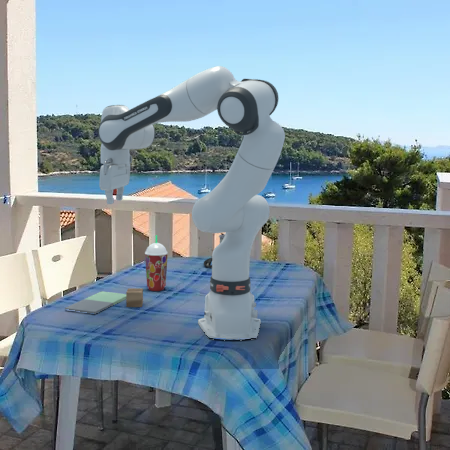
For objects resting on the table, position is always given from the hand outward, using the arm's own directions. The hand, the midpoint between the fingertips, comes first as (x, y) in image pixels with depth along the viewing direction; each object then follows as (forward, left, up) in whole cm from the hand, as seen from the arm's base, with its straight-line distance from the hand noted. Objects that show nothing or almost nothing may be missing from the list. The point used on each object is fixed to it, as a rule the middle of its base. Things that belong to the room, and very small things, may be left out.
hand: (114, 202), depth 182 cm
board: (+4, +6, -35) cm, 35 cm away
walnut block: (+3, -6, -35) cm, 35 cm away
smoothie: (+23, -12, -35) cm, 43 cm away
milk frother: (+57, -38, -35) cm, 77 cm away
